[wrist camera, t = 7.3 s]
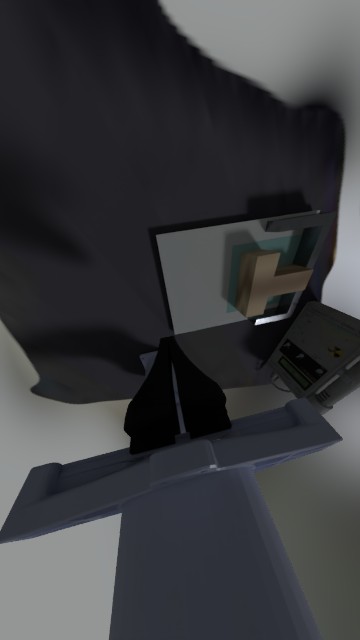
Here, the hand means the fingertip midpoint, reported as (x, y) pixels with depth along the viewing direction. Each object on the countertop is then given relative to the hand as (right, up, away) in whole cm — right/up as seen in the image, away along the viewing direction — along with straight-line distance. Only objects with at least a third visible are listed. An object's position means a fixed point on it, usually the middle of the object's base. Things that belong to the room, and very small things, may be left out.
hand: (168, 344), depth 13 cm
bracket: (+17, +10, +9) cm, 21 cm away
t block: (+15, +9, +8) cm, 19 cm away
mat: (+10, +9, +9) cm, 16 cm away
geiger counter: (+29, -4, +22) cm, 36 cm away
